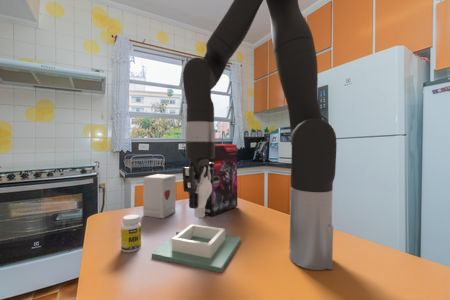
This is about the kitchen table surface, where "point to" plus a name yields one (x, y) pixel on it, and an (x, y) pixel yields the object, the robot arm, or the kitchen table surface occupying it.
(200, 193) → the lightbulb
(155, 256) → the board
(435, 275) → the kitchen table surface
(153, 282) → the kitchen table surface
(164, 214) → the supplement box
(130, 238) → the supplement bottle
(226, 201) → the graphics card box
